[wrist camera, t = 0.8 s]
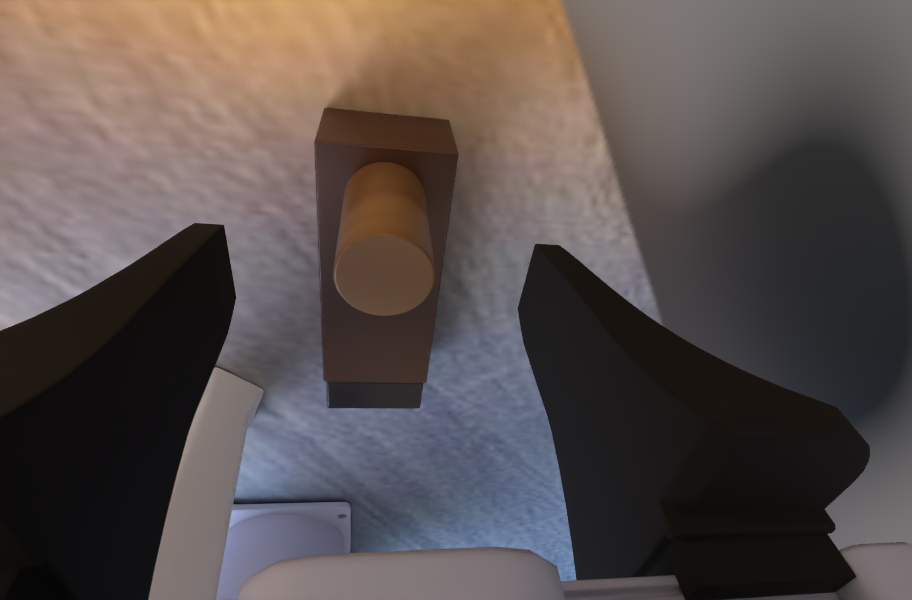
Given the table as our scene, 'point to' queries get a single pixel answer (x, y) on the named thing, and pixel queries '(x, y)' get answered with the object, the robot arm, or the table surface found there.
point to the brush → (380, 251)
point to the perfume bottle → (205, 491)
